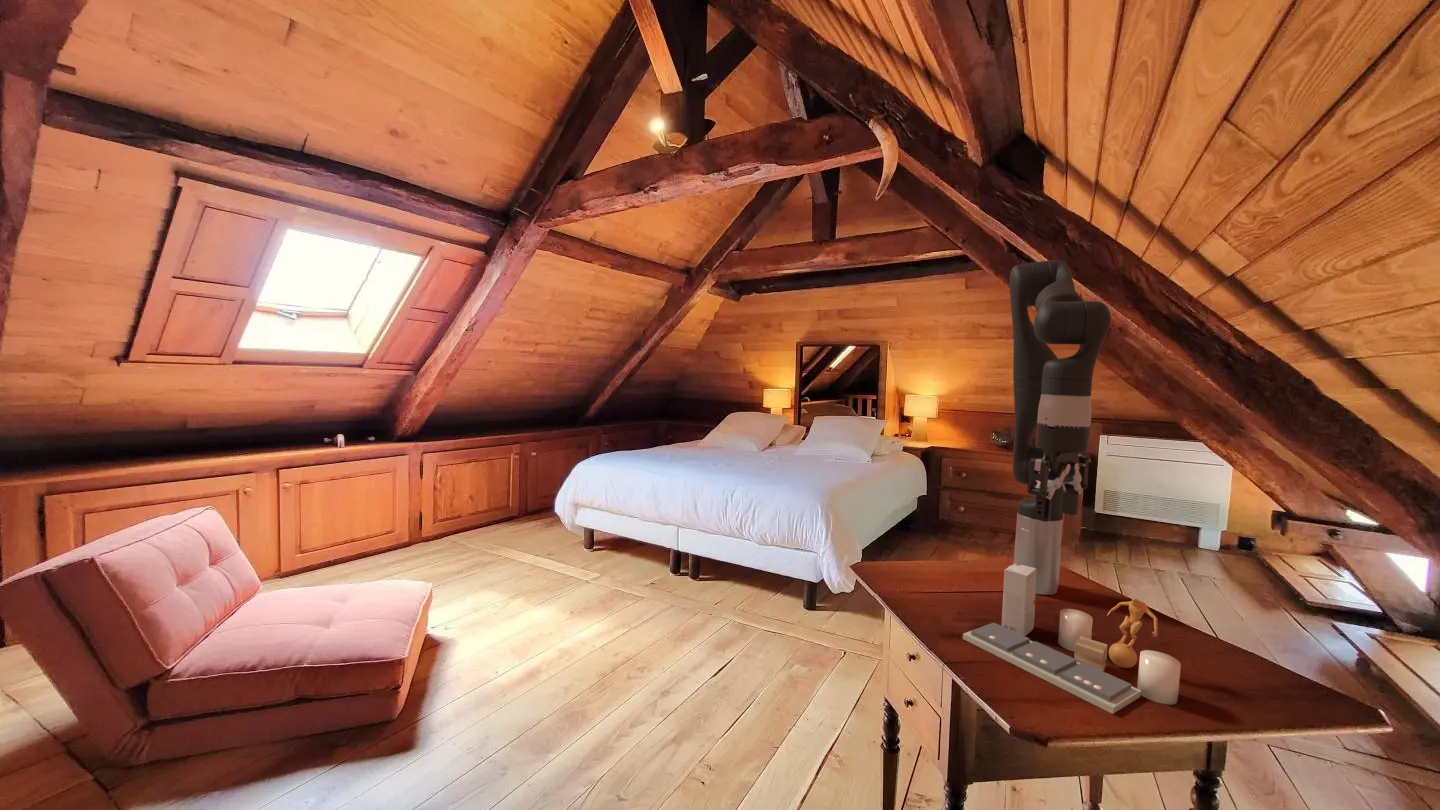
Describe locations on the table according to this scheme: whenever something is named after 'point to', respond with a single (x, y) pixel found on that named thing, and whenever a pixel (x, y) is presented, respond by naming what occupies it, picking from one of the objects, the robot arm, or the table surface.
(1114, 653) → the figurine
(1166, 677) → the white pillar candle
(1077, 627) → the white rounded cylinder
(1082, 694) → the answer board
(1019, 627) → the skincare box
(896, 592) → the table surface
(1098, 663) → the beech block
